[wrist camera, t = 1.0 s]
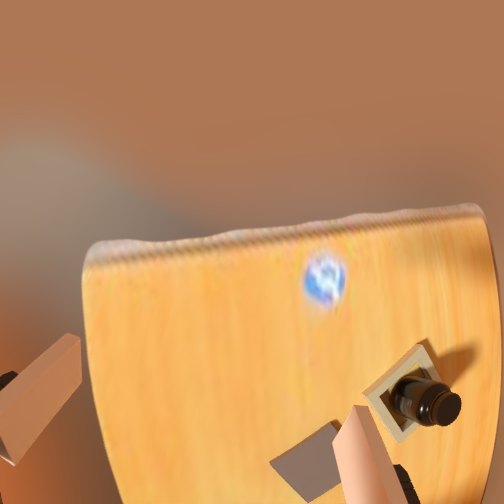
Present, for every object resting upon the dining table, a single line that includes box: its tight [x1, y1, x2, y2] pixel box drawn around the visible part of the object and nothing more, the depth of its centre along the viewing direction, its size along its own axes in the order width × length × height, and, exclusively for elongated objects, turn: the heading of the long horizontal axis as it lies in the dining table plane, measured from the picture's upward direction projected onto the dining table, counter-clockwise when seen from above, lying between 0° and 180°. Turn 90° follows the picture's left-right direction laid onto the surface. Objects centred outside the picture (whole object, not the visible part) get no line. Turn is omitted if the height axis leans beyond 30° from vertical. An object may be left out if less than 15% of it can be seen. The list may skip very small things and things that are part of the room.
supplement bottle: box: [390, 375, 462, 427], centre depth 35 cm, size 7×7×12 cm
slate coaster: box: [270, 422, 341, 503], centre depth 38 cm, size 11×11×1 cm
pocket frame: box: [362, 344, 443, 444], centre depth 40 cm, size 12×12×2 cm
